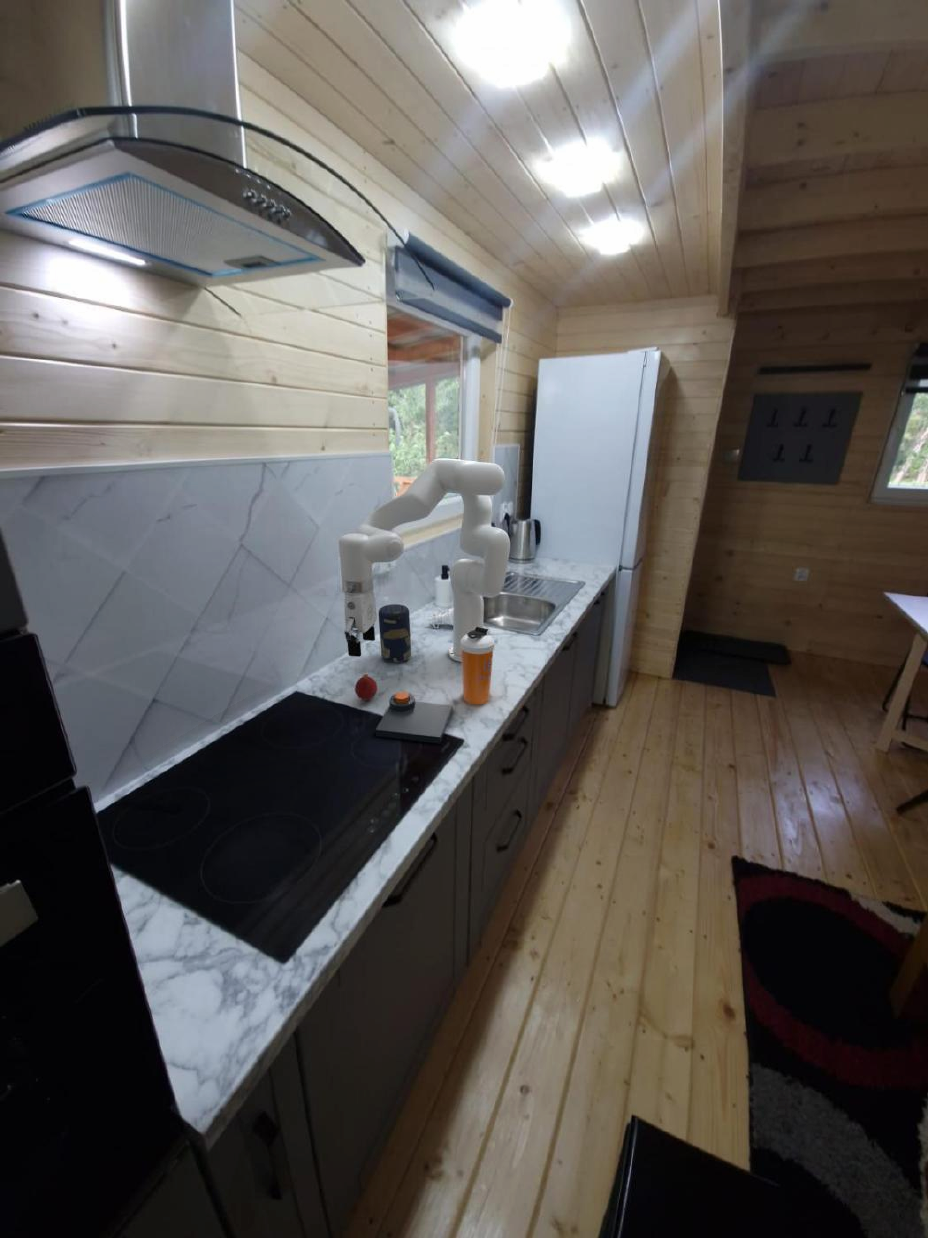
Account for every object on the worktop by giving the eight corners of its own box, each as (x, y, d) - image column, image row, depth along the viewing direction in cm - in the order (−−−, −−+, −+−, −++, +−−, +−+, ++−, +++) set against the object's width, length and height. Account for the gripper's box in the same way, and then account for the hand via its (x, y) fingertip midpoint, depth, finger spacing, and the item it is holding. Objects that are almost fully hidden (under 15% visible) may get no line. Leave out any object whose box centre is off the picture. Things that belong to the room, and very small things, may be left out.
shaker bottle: (455, 702, 133) (455, 635, 126) (467, 687, 141) (467, 622, 134) (486, 709, 130) (488, 640, 123) (496, 693, 138) (499, 627, 131)
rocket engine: (423, 601, 178) (472, 592, 176) (430, 611, 189) (476, 603, 187) (427, 631, 174) (477, 622, 172) (434, 640, 185) (481, 631, 183)
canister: (414, 652, 162) (413, 601, 155) (406, 666, 153) (404, 611, 146) (386, 650, 163) (383, 599, 156) (377, 663, 154) (373, 609, 148)
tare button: (397, 696, 130) (397, 691, 130) (410, 697, 130) (410, 692, 129) (393, 703, 127) (393, 698, 127) (406, 704, 127) (406, 699, 126)
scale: (394, 702, 133) (393, 691, 132) (453, 709, 130) (453, 697, 129) (374, 736, 119) (374, 723, 118) (440, 744, 117) (440, 731, 115)
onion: (373, 707, 131) (371, 680, 128) (352, 704, 132) (350, 678, 129) (380, 696, 136) (379, 670, 133) (361, 693, 137) (359, 668, 134)
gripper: (359, 597, 113) (363, 664, 120) (384, 575, 129) (386, 635, 135) (328, 595, 114) (334, 661, 121) (356, 573, 130) (361, 633, 137)
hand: (362, 647), depth 128 cm, fingers open, 9 cm apart
